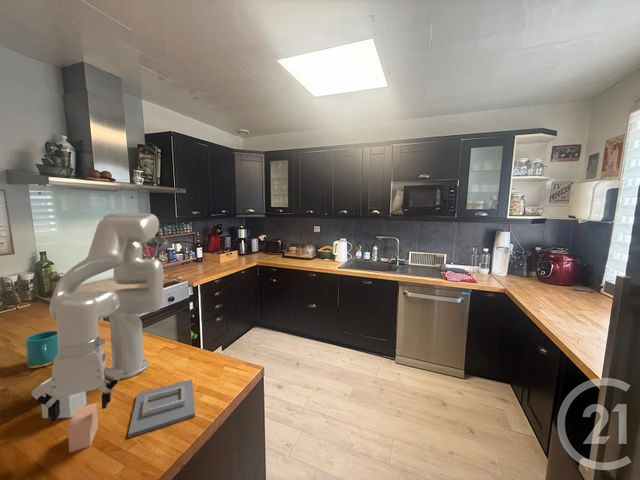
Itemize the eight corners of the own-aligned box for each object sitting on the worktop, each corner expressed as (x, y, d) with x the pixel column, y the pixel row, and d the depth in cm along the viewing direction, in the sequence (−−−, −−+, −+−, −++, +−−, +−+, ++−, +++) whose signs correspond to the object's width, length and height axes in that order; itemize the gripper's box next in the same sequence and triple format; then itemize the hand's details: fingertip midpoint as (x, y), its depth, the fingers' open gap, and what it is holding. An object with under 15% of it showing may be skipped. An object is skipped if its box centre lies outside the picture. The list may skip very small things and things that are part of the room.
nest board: (137, 396, 83) (137, 388, 83) (192, 381, 91) (192, 375, 91) (128, 437, 67) (127, 429, 67) (195, 416, 75) (194, 408, 75)
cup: (27, 376, 92) (25, 346, 91) (27, 363, 100) (25, 335, 99) (62, 365, 99) (60, 337, 98) (60, 354, 107) (58, 328, 106)
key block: (78, 432, 69) (77, 407, 68) (98, 426, 71) (96, 402, 70) (69, 452, 63) (67, 426, 62) (90, 446, 65) (89, 420, 64)
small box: (87, 404, 79) (85, 372, 78) (70, 418, 73) (68, 384, 73) (60, 404, 79) (58, 372, 78) (41, 418, 73) (39, 384, 72)
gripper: (124, 335, 72) (125, 393, 73) (38, 348, 64) (41, 414, 65) (118, 345, 66) (120, 409, 66) (22, 362, 57) (25, 435, 58)
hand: (81, 411), depth 66 cm, fingers open, 9 cm apart
